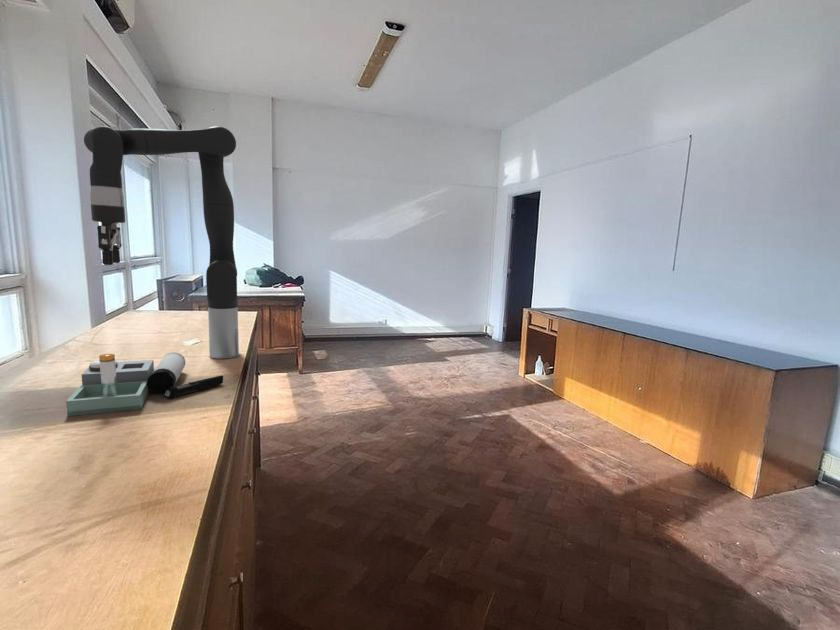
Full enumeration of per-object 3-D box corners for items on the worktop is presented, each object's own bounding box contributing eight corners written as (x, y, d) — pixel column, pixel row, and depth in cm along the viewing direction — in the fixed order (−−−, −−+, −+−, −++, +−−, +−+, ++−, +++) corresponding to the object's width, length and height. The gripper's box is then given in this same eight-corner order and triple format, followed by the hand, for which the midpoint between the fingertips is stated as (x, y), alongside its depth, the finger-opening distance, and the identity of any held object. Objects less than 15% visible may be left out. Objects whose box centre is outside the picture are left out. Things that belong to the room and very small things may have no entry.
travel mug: (190, 356, 130) (179, 376, 112) (179, 375, 130) (166, 399, 112) (169, 347, 128) (154, 367, 110) (158, 367, 128) (141, 389, 109)
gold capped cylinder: (119, 397, 106) (115, 353, 104) (116, 401, 103) (113, 356, 101) (104, 398, 105) (100, 354, 103) (101, 402, 102) (97, 357, 100)
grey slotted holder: (154, 380, 122) (153, 355, 121) (148, 392, 113) (147, 365, 112) (94, 384, 116) (92, 358, 115) (83, 397, 107) (80, 369, 106)
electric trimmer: (226, 387, 121) (226, 376, 121) (169, 401, 109) (169, 389, 108) (219, 384, 123) (218, 373, 123) (162, 397, 111) (161, 385, 110)
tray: (148, 393, 112) (147, 380, 111) (140, 409, 102) (140, 395, 102) (82, 398, 106) (81, 385, 106) (67, 416, 96) (66, 401, 96)
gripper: (118, 204, 113) (122, 266, 116) (129, 207, 126) (132, 262, 128) (83, 201, 110) (88, 265, 113) (98, 204, 123) (102, 261, 125)
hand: (111, 263), depth 120 cm, fingers open, 8 cm apart
